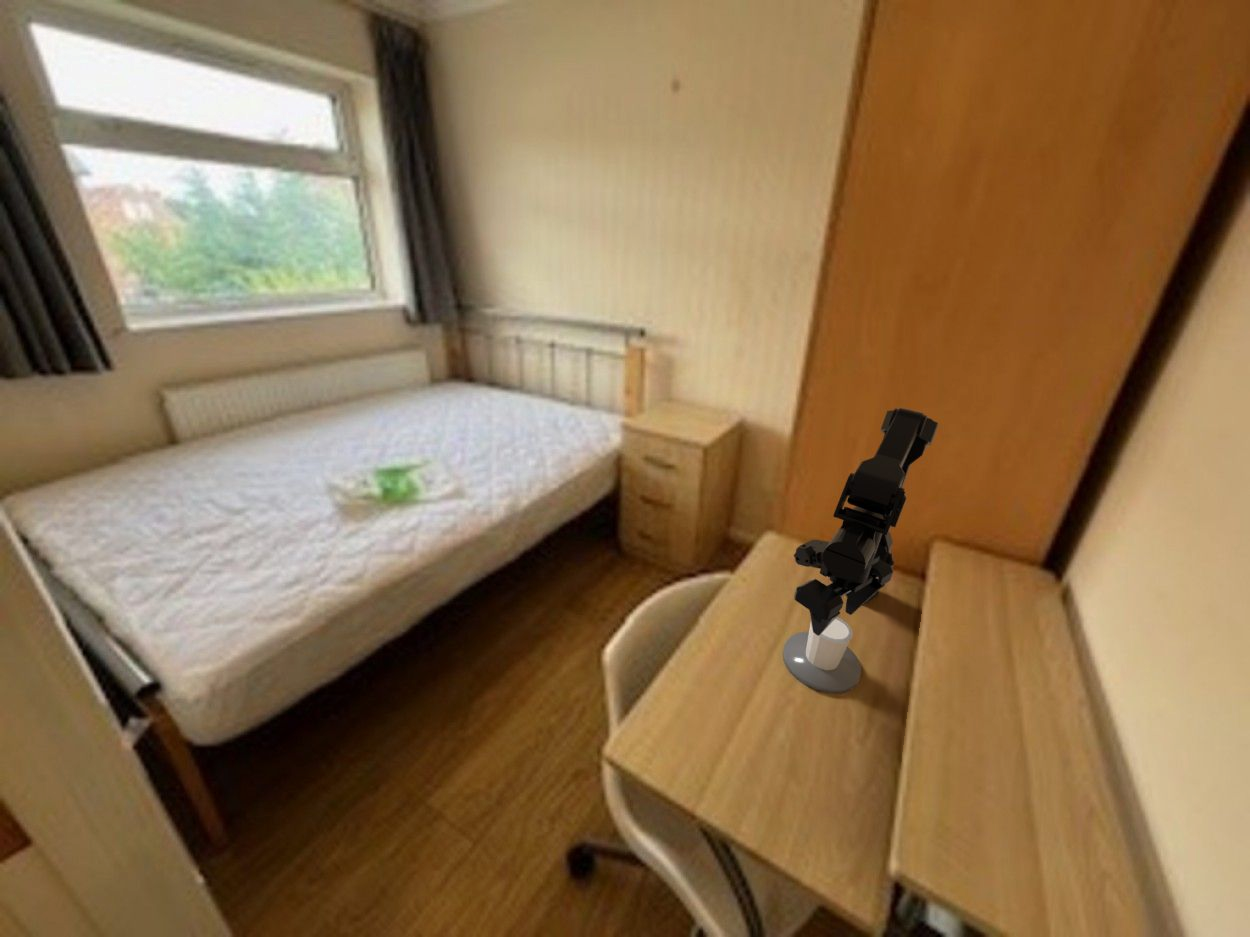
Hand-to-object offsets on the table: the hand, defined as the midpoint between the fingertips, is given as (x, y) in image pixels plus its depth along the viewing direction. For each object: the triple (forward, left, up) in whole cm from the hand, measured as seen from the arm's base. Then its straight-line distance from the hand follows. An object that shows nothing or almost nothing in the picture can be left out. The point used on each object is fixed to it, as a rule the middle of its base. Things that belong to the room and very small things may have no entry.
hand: (832, 623), depth 92 cm
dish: (0, 0, -9) cm, 9 cm away
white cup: (0, 0, -8) cm, 8 cm away
